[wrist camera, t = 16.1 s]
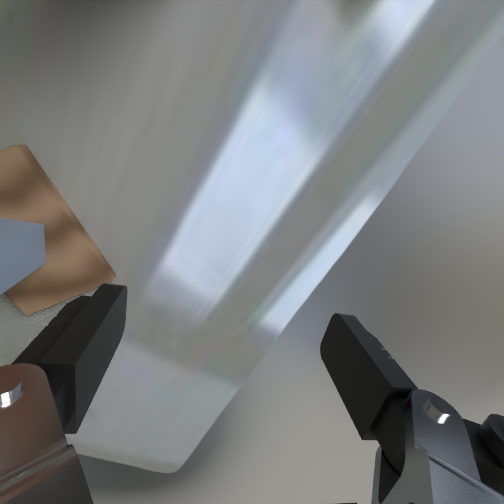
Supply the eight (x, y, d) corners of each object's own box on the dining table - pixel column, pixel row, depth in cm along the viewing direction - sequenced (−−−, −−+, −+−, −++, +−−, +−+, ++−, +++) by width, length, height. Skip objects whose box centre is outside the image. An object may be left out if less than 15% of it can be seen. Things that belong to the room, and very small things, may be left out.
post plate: (-75, 187, 33) (-134, 196, 27) (25, 144, 32) (-13, 145, 27) (34, 308, 41) (6, 334, 35) (116, 275, 41) (100, 295, 35)
